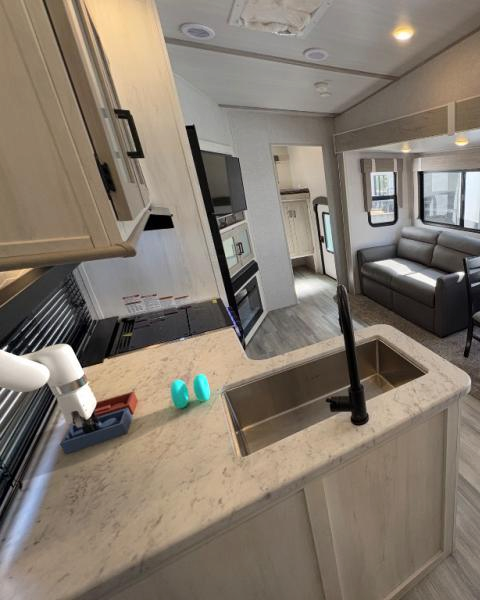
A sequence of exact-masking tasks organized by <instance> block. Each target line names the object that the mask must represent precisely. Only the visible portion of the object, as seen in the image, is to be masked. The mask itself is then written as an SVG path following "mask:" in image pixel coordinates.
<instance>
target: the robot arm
mask: <svg viewBox="0 0 480 600" xmlns="http://www.w3.org/2000/svg"><path fill="white" fill-rule="evenodd" d="M89 383H90V382H89V379H88V377H87V375H86V374H85V371H84V370H83V368H82V366H81V364H80V361H79V360H78V358H77V356H76V353H75V352H74V349H73V348H72V346H71V345H69V344H67V343H57V344H52V345H49V346H45V347H43V348H41V349H39V350H37V351H34V352H30V353H25V354H21V355H16V354H14V353H10V352H7V351H6V350H3V349H0V388H2V389H5V390H9V391H13V392H17V393H27V392H33V391H36V390H38V389H40V388H42V387H44V385H46V384H47V385H48V387H49V390H51V392H52V395H54V396H55V397H56V401H57V404H58V407H59V409H60V412H61V415H62V416H63V419H64V421H65V422H66V424H67V425H68V426H71V425H73V422H74V420H75V422H76V426H77V428H80V427H81V428H82V429H83V431H84V433H85V434H88V433H91V432H94V431H97V430H99V428H98V426H97V424H96V423H98V422H100V421H99V419H98V417H97V414H96V412H95V407H96V404H97V402H98V401H97V399H96V396H95V394H94V392H93V390H92V389H91V387H90V386H89ZM96 417H97V418H96ZM83 420H85V421H83Z"/></svg>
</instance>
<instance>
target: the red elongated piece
mask: <svg viewBox="0 0 480 600" xmlns="http://www.w3.org/2000/svg"><path fill="white" fill-rule="evenodd" d="M123 405H125V404H124V403H118V404H116V405H114V406H112V407H111V406H110V405H108V406H104V407H101V408H98V409H95V412H96V413H100V412H103V411H106V410H109V409H113V408H116V407H119V406H123Z"/></svg>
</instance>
